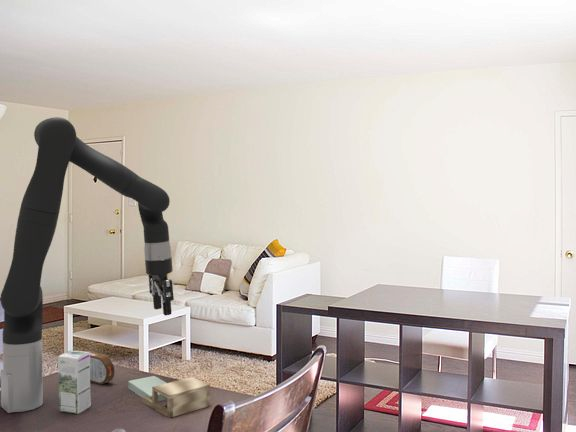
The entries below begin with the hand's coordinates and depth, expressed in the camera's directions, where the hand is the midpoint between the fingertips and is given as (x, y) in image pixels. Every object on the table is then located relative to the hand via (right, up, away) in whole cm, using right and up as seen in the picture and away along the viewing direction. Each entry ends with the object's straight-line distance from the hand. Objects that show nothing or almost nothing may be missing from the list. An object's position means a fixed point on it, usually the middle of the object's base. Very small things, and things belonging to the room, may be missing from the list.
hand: (162, 311), depth 168 cm
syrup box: (-18, -22, -21) cm, 35 cm away
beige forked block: (+7, -21, -17) cm, 28 cm away
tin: (-21, -21, +1) cm, 29 cm away
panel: (-1, -22, -8) cm, 23 cm away
